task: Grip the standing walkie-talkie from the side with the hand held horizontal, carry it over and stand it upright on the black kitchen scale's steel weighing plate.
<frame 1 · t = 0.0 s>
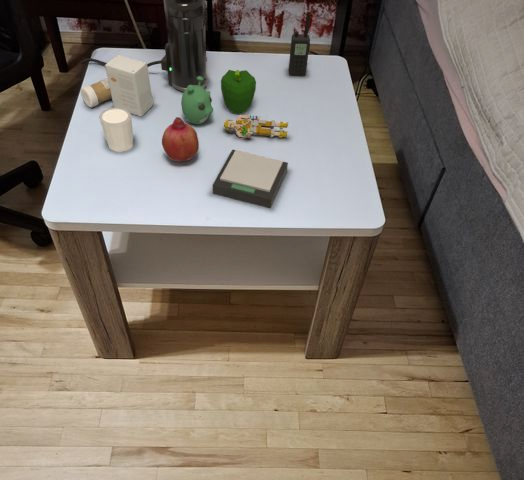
small box: (133, 108, 124), on the table
white candle: (120, 145, 115), on the table
sprinkles bottle: (132, 78, 126), point 2 cm above the table
bell pepper: (237, 108, 126), on the table
fruit: (182, 160, 114), on the table
toy: (255, 135, 120), on the table
alien toy: (198, 123, 122), on the table
walkie-talkie: (297, 73, 137), on the table
scale: (250, 182, 111), on the table
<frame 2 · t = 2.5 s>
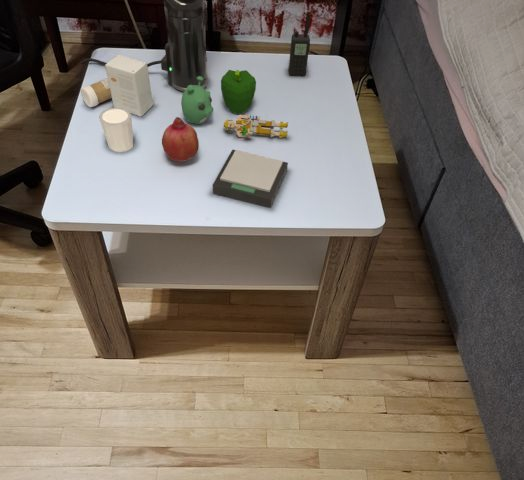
nothing on the table moved.
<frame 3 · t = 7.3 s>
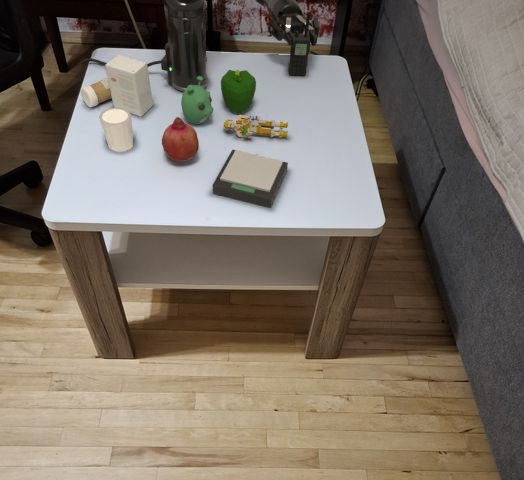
hand: (304, 42, 128), 9 cm above the table, tool horizontal, fingers closed on walkie-talkie, 5 cm apart
walkie-talkie: (297, 73, 137), on the table, touching gripper
everything else where it was.
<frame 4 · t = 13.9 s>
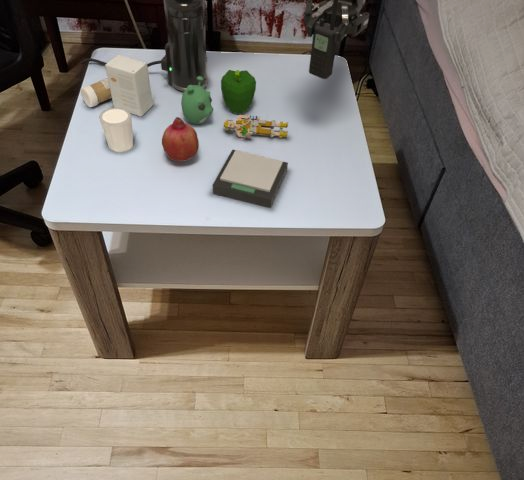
hand: (323, 34, 100), 24 cm above the table, tool horizontal, fingers closed on walkie-talkie, 5 cm apart
walkie-talkie: (320, 74, 109), point 15 cm above the table, touching gripper
everything else where it was.
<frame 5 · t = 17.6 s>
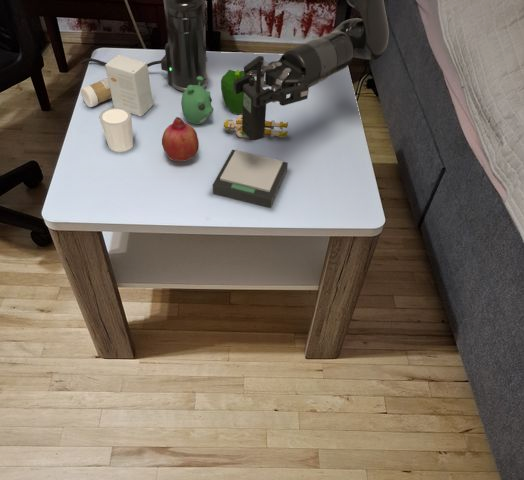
hand: (244, 94, 92), 21 cm above the table, tool horizontal, fingers closed on walkie-talkie, 5 cm apart
walkie-talkie: (253, 134, 101), point 12 cm above the table, touching gripper
everything else where it was.
when the fingers open (12 cm above the table, at t = 20.4 s): walkie-talkie stays where it is, resting on scale.
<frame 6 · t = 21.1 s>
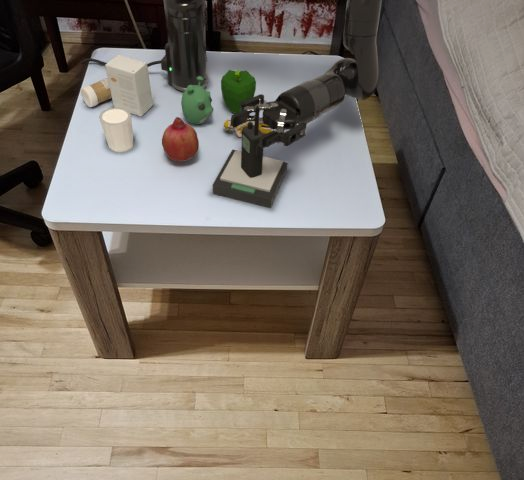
hand: (246, 132, 99), 13 cm above the table, tool horizontal, fingers open, 8 cm apart
walkie-talkie: (252, 171, 108), point 3 cm above the table, touching scale
everything else where it was.
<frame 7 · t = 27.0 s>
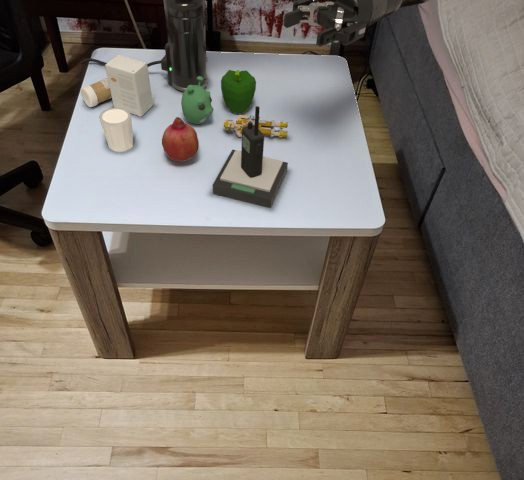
hand: (301, 30, 92), 28 cm above the table, tool horizontal, fingers open, 8 cm apart
nothing on the table moved.
at the end: walkie-talkie inside the target area on the scale (0.1 cm from its centre), point 2.8 cm above the scale's base; walkie-talkie tilted 0°; the gripper is holding nothing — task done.
